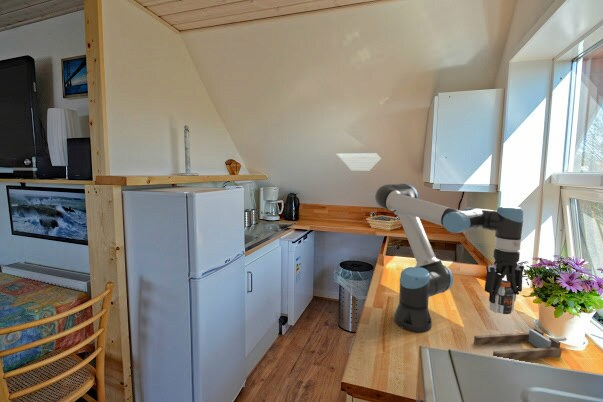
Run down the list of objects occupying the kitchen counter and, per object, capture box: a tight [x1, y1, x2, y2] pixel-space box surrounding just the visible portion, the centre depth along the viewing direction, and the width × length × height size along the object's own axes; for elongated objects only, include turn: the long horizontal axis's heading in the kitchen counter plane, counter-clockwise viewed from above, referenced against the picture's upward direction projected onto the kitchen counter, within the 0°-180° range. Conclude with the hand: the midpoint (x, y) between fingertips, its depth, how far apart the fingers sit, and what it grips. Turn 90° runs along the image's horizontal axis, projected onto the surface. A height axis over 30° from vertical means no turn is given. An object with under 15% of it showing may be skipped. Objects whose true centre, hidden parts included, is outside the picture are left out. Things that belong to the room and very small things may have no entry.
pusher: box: [527, 328, 568, 348], centre depth 105 cm, size 11×7×5 cm, turn 96°
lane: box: [473, 327, 563, 361], centre depth 103 cm, size 25×10×5 cm, turn 96°
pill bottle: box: [493, 279, 513, 315], centre depth 102 cm, size 6×6×11 cm
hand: (501, 310), depth 103 cm, fingers closed on pill bottle, 6 cm apart
